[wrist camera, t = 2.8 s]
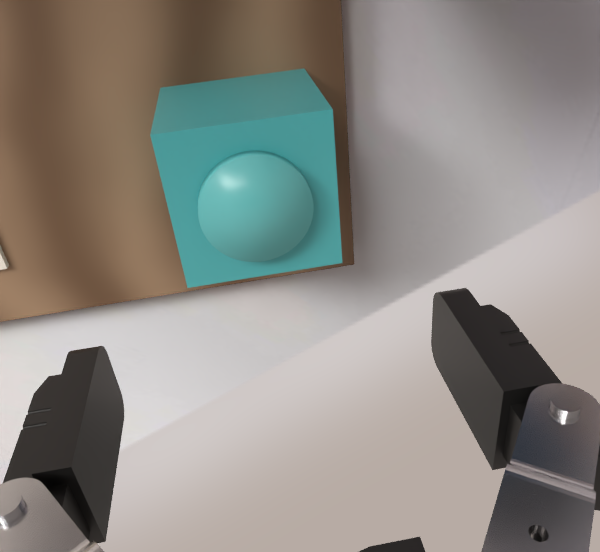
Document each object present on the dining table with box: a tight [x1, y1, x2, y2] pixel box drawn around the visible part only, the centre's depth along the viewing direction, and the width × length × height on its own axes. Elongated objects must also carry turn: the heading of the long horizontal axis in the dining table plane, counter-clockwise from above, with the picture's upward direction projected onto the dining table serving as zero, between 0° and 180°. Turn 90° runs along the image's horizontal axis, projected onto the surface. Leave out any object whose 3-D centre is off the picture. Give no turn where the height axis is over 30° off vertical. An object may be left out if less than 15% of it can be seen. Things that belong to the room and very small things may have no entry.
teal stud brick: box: [150, 69, 342, 288], centre depth 22 cm, size 6×6×7 cm
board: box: [0, 0, 354, 322], centre depth 23 cm, size 25×14×6 cm, turn 96°
